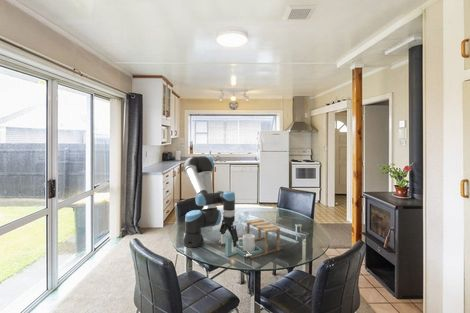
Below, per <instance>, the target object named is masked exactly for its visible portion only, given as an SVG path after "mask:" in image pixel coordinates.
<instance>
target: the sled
mask: <svg viewBox="0 0 470 313" xmlns="http://www.w3.org/2000/svg"><path fill="white" fill-rule="evenodd" d="M232 241H233V240H232V237H231V235H228V236H225V248H224V249H225V256H226V257H232V256H233V255H236V254H239V255H240V256H241V257H243V258H244V255H246V253H247V252H244V251H243V250H242V249H241V248H239V247H238V244H237V242H236V251H233V252H232ZM239 245H240V246H243V240H242V241H239ZM249 253H250V254H252V256H253V255H257V254H260V253H264V249H263V248H261V247H260V246H258V245H256V244H255V250H254V251H253V252H249Z"/></svg>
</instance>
